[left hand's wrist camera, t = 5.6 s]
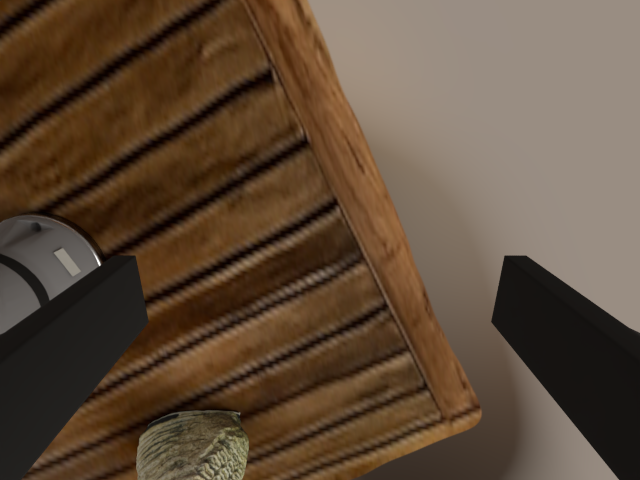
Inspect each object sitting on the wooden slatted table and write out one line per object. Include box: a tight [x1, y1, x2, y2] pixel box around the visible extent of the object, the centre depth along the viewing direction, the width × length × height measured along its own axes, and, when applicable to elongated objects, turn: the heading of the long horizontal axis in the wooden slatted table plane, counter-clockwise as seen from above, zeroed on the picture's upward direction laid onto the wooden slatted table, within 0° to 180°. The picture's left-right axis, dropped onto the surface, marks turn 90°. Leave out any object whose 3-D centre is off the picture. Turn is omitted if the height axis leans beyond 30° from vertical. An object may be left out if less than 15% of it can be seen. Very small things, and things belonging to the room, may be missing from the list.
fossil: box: [136, 410, 249, 480], centre depth 50 cm, size 9×18×15 cm, turn 112°
